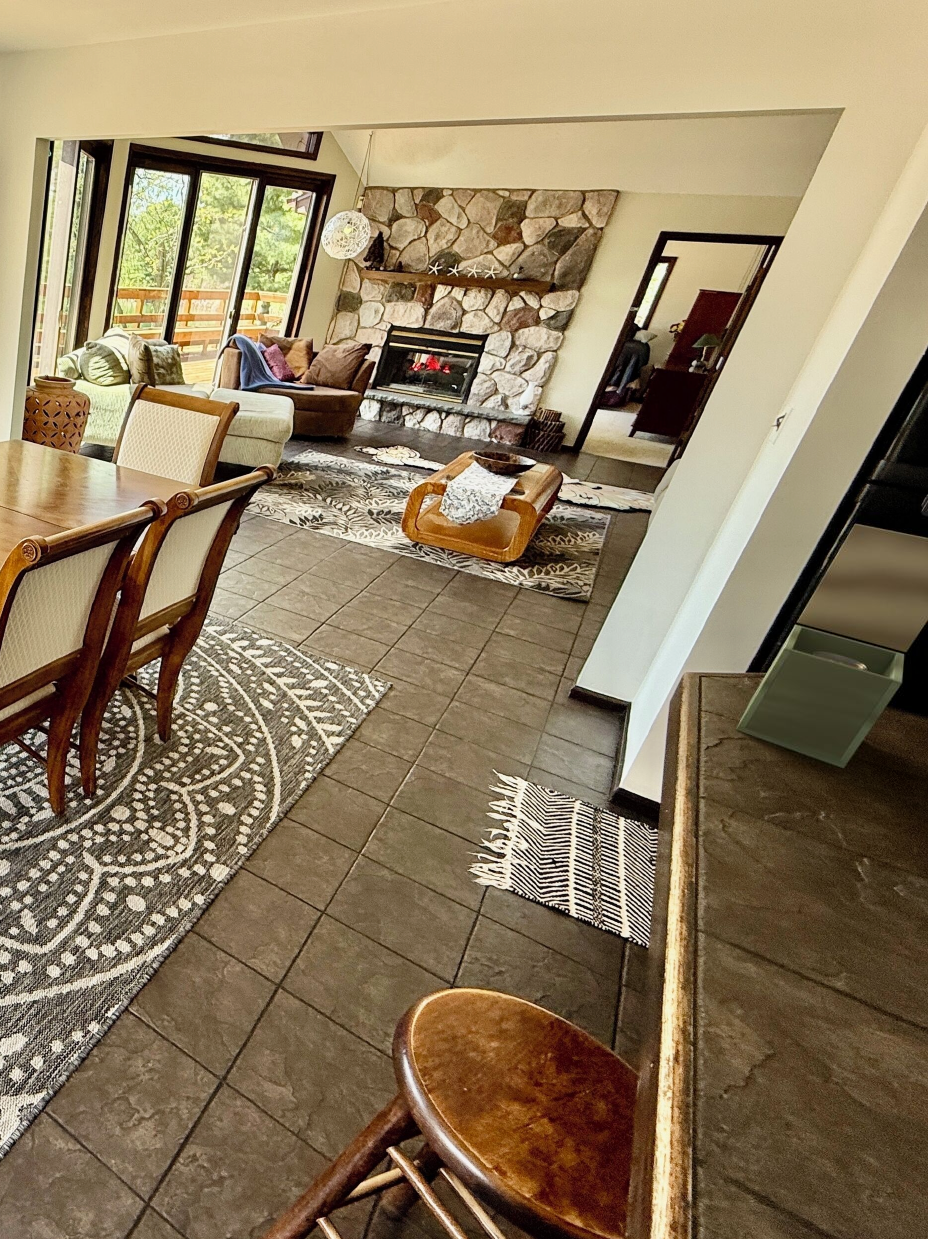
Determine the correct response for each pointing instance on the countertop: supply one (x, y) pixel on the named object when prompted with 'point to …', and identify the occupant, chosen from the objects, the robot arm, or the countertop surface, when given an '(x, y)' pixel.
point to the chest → (822, 695)
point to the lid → (874, 589)
